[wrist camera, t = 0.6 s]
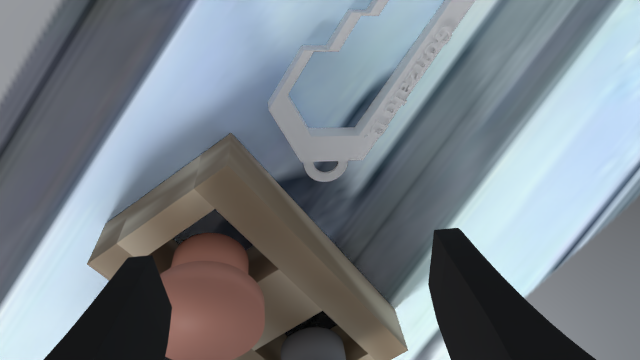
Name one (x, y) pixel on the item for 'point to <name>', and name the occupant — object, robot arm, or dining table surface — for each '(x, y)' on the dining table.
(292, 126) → the stepped key frame
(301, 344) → the grey plug
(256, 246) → the socket block
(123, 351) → the robot arm
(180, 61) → the dining table surface
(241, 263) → the brick plug
